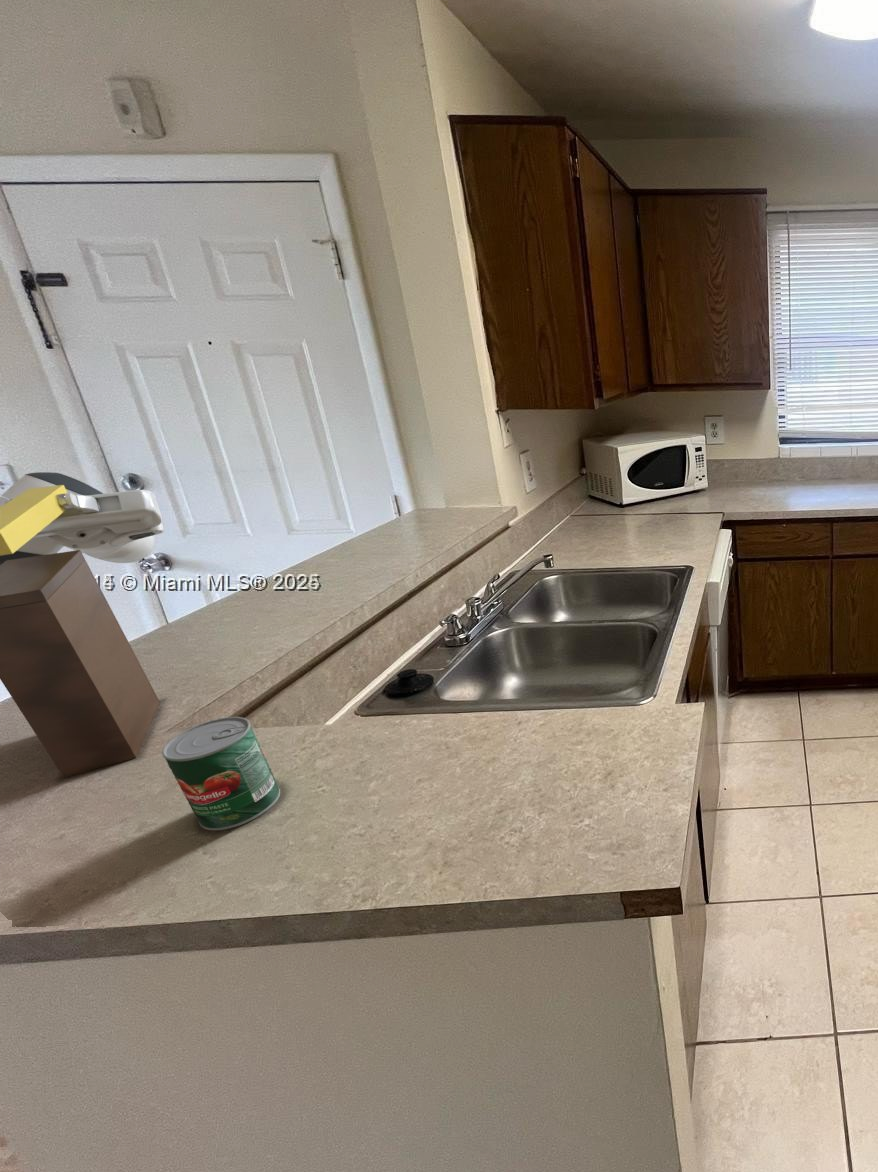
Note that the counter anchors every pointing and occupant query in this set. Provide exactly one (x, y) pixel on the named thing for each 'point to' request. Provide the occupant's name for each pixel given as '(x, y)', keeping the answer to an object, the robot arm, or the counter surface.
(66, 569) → the walnut stand
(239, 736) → the canned tomato
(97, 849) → the counter surface
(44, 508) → the yellow bar
